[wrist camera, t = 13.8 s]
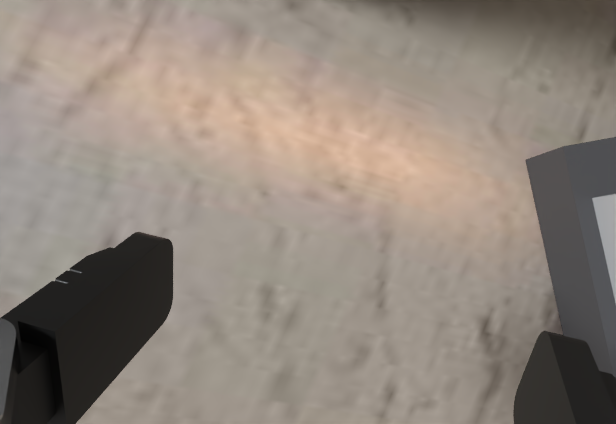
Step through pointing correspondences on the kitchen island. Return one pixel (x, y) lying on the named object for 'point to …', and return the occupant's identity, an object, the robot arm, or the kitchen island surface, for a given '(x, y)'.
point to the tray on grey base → (581, 239)
